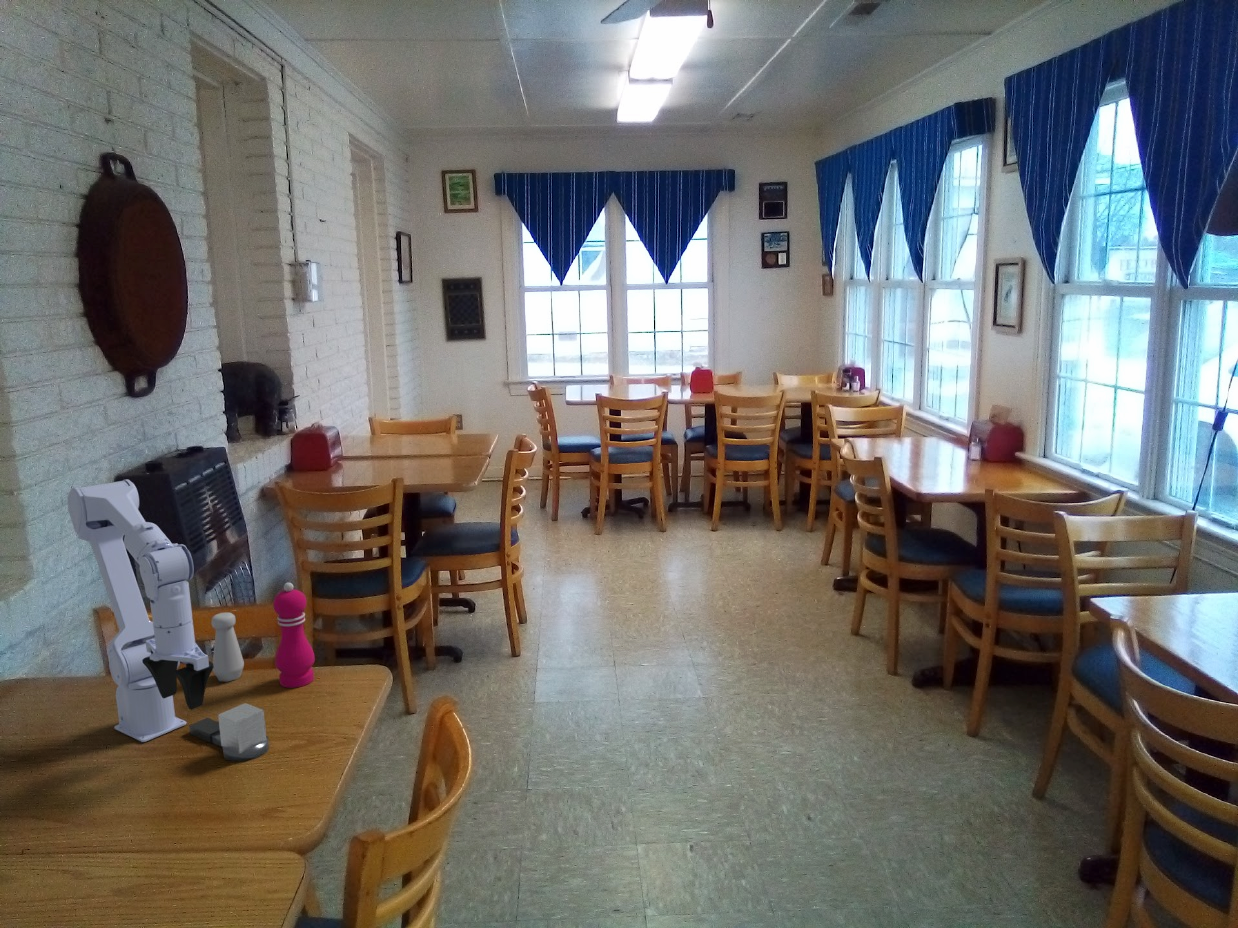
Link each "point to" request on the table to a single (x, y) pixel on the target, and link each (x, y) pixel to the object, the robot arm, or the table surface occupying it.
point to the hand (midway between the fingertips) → (182, 701)
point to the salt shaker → (226, 648)
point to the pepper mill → (293, 639)
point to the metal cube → (242, 728)
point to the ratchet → (211, 734)
